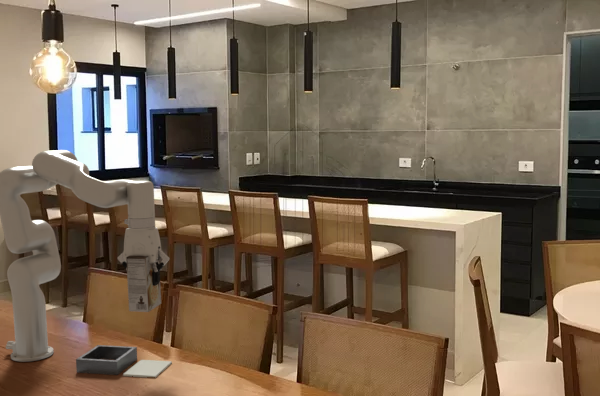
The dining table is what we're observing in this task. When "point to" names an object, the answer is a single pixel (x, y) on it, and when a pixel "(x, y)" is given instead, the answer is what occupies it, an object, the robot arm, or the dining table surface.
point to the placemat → (147, 368)
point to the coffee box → (141, 285)
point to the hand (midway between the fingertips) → (144, 283)
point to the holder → (95, 365)
